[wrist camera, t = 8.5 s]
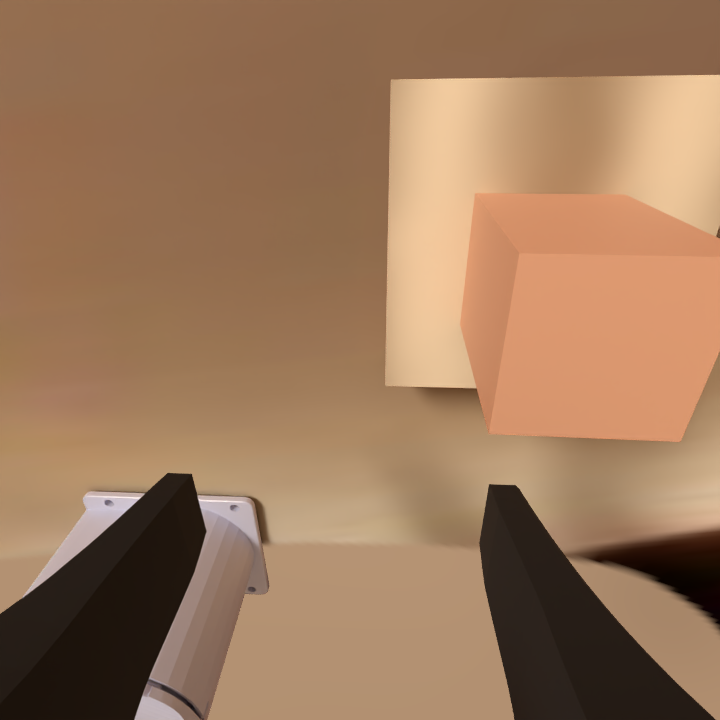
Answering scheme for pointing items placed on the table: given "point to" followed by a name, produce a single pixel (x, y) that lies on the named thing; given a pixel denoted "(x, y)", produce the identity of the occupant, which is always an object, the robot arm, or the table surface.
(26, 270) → the table surface
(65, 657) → the robot arm
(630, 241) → the terracotta block
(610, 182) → the birch base block
